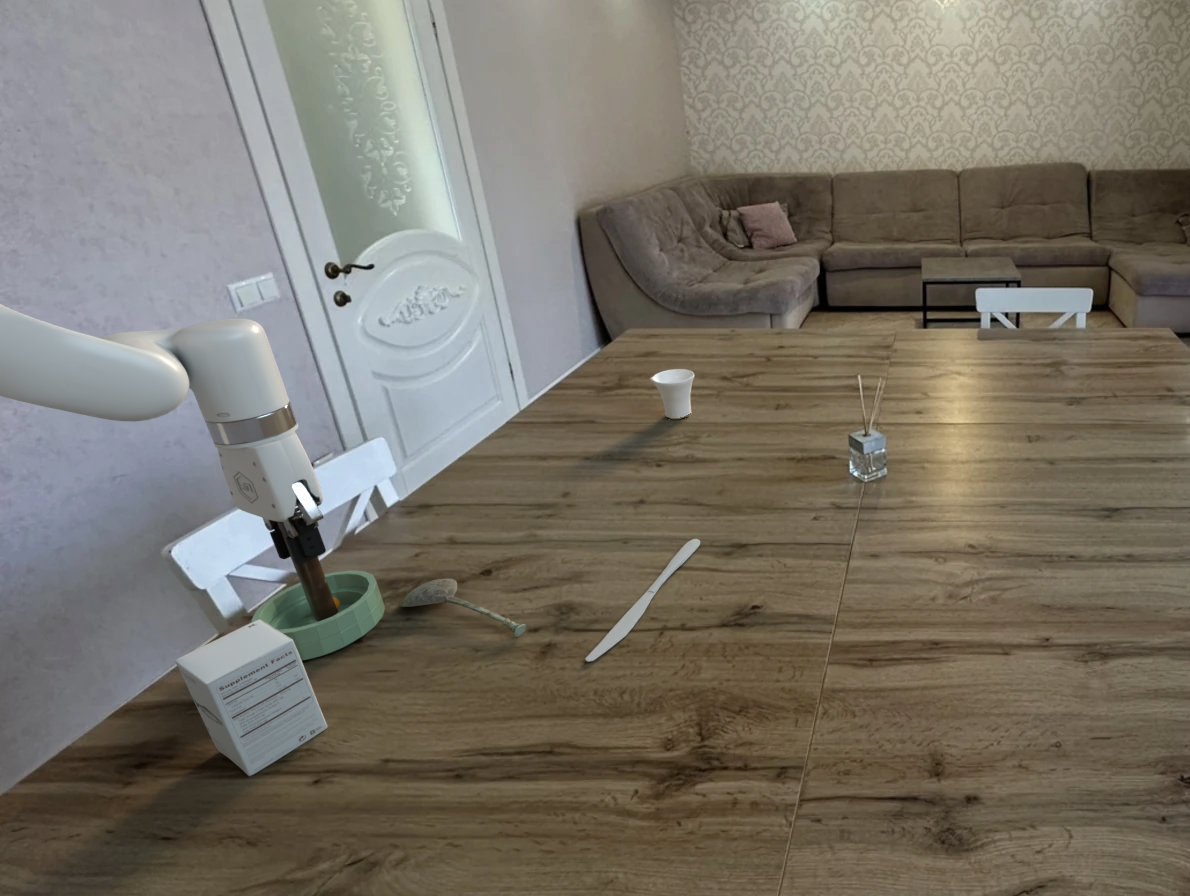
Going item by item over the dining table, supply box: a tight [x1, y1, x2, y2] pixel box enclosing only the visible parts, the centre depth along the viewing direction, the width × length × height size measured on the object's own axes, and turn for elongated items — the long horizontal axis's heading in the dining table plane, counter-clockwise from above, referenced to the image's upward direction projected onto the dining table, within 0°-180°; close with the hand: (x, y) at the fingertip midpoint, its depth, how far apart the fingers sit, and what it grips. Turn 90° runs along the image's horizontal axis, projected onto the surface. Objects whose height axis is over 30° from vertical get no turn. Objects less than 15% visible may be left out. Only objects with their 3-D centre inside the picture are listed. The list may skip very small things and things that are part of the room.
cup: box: [649, 368, 695, 418], centre depth 158 cm, size 9×9×10 cm
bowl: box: [250, 569, 386, 661], centre depth 94 cm, size 13×13×5 cm
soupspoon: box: [399, 578, 528, 638], centre depth 97 cm, size 22×3×7 cm
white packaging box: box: [174, 620, 328, 777], centre depth 76 cm, size 7×7×13 cm
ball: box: [333, 597, 340, 610], centre depth 96 cm, size 2×2×2 cm
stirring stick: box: [277, 514, 338, 621], centre depth 91 cm, size 2×2×15 cm
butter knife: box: [585, 538, 701, 663], centre depth 101 cm, size 1×27×3 cm
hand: (303, 554), depth 90 cm, fingers closed on stirring stick, 2 cm apart
